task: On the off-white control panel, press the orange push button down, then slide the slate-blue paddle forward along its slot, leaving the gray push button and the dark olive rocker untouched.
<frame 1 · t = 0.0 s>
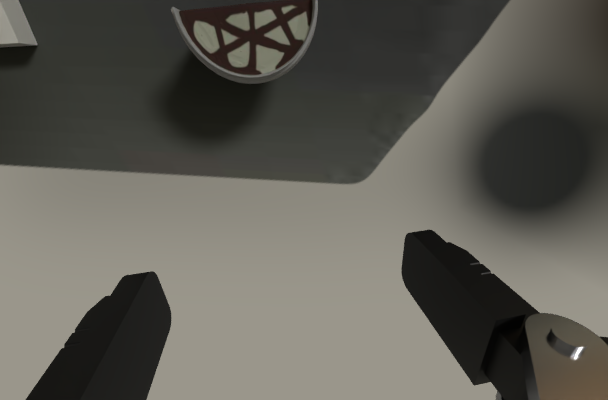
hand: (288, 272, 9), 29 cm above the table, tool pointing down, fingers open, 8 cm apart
food container: (254, 52, 32), on the table
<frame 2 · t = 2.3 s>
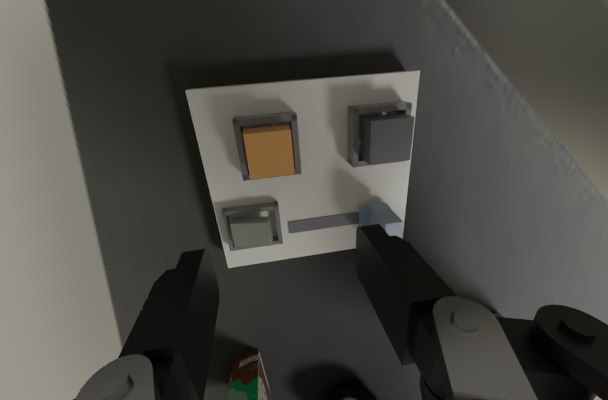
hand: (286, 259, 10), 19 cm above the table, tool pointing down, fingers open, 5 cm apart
gray push button: (385, 138, 23), point 5 cm above the table, slide at 0.0 cm
control panel: (309, 171, 29), on the table
food container: (244, 372, 41), on the table
blue paddle: (381, 229, 27), point 5 cm above the table, slide at 0.0 cm
olive rocker: (252, 231, 26), point 4 cm above the table, hinge at 12.0°
orange push button: (269, 151, 22), point 5 cm above the table, slide at 0.0 cm
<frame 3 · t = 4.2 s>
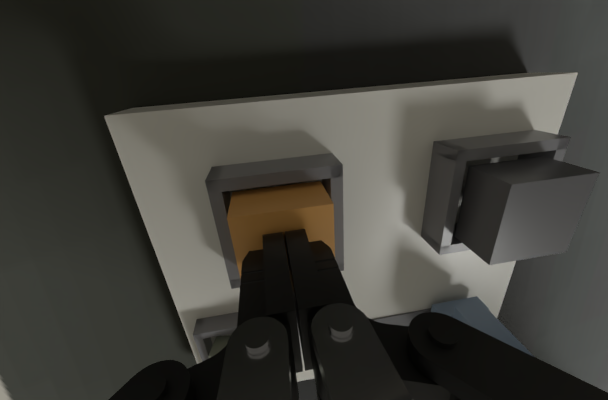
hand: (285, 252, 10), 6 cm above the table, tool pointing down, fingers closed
gray push button: (517, 208, 12), point 5 cm above the table, slide at 0.0 cm
control panel: (346, 241, 17), on the table
blue paddle: (479, 353, 15), point 5 cm above the table, slide at 0.0 cm
olive rocker: (249, 361, 15), point 4 cm above the table, hinge at 12.0°
orange push button: (284, 238, 11), point 5 cm above the table, slide at 0.4 cm, touching gripper
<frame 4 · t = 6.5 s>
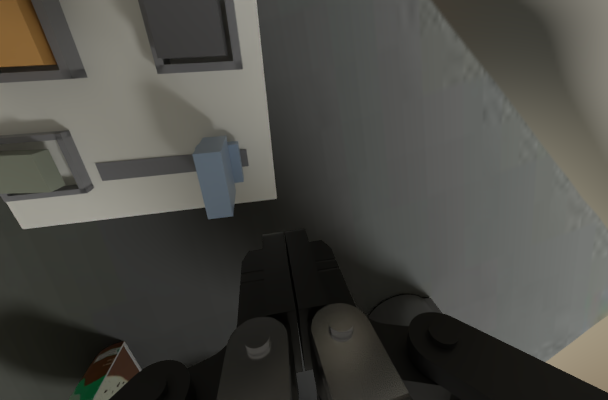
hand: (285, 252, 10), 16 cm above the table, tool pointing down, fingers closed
gray push button: (188, 20, 15), point 5 cm above the table, slide at 0.0 cm
control panel: (132, 94, 21), on the table
food container: (113, 369, 34), on the table
blue paddle: (218, 172, 19), point 5 cm above the table, slide at 0.0 cm
olive rocker: (24, 171, 18), point 4 cm above the table, hinge at 12.0°
orange push button: (5, 30, 15), point 4 cm above the table, slide at 1.3 cm
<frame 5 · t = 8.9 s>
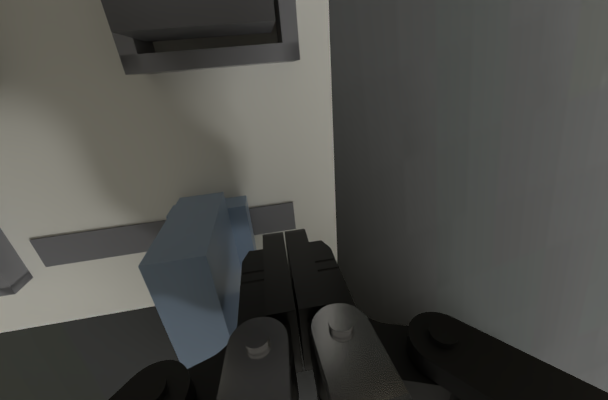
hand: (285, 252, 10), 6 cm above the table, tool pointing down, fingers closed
control panel: (96, 115, 12), on the table
blue paddle: (209, 266, 10), point 5 cm above the table, slide at 1.5 cm, touching gripper
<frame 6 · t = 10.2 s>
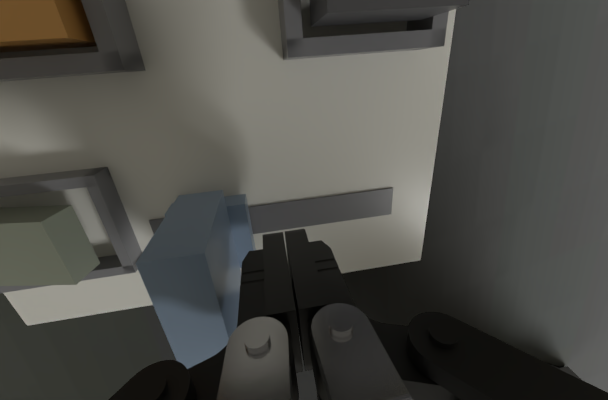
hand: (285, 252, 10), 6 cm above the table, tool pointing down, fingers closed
control panel: (207, 102, 12), on the table
blue paddle: (207, 265, 10), point 5 cm above the table, slide at 6.3 cm, touching gripper
olive rocker: (27, 246, 10), point 4 cm above the table, hinge at 12.0°
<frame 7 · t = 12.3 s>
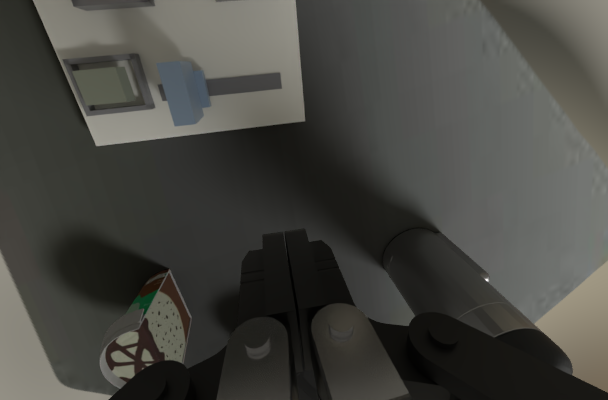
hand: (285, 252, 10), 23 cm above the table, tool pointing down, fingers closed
portable speaker: (307, 352, 48), on the table
control panel: (185, 28, 25), on the table
food container: (159, 298, 38), on the table
blue paddle: (184, 92, 22), point 5 cm above the table, slide at 6.3 cm
olive rocker: (105, 86, 22), point 4 cm above the table, hinge at 12.0°
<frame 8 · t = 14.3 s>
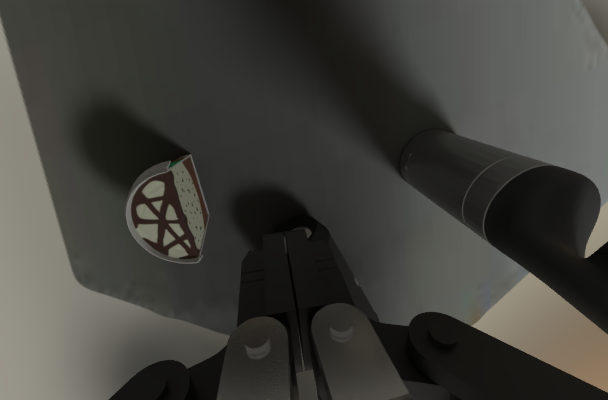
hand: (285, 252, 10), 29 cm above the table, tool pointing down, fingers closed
portable speaker: (321, 270, 48), on the table
food container: (178, 189, 38), on the table
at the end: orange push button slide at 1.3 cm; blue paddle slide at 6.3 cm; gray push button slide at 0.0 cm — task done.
